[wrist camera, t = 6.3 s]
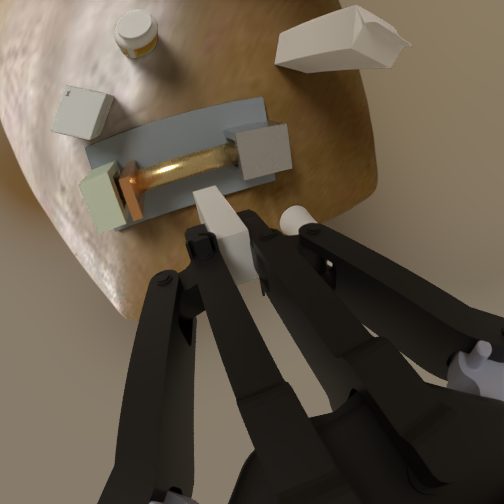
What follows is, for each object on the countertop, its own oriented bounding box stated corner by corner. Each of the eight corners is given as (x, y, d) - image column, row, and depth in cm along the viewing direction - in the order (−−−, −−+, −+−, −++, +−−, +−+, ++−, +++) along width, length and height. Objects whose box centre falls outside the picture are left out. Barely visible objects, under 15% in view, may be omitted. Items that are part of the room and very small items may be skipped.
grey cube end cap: (222, 129, 37) (235, 133, 31) (266, 120, 38) (286, 123, 32) (230, 169, 40) (244, 180, 35) (272, 158, 42) (292, 168, 36)
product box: (66, 126, 29) (49, 131, 23) (79, 87, 27) (64, 84, 21) (101, 135, 32) (90, 141, 26) (116, 96, 30) (107, 93, 24)
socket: (91, 170, 33) (78, 184, 26) (116, 160, 33) (107, 172, 27) (107, 211, 37) (98, 234, 30) (130, 203, 37) (126, 223, 31)
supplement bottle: (162, 28, 27) (164, 6, 19) (151, 60, 29) (150, 45, 21) (126, 25, 24) (119, 2, 17) (115, 57, 27) (104, 42, 19)
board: (86, 147, 32) (84, 148, 31) (260, 97, 37) (263, 96, 36) (116, 228, 40) (115, 231, 39) (273, 178, 45) (276, 180, 44)
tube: (108, 169, 33) (94, 189, 25) (240, 129, 37) (265, 137, 29) (119, 201, 36) (110, 229, 28) (246, 161, 40) (272, 178, 32)
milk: (279, 33, 32) (375, -3, 14) (312, 43, 34) (415, 24, 16) (273, 65, 35) (371, 45, 17) (307, 74, 37) (412, 69, 19)
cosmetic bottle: (305, 200, 49) (388, 262, 31) (310, 227, 52) (385, 295, 35) (276, 212, 48) (350, 284, 30) (283, 239, 52) (350, 315, 34)
